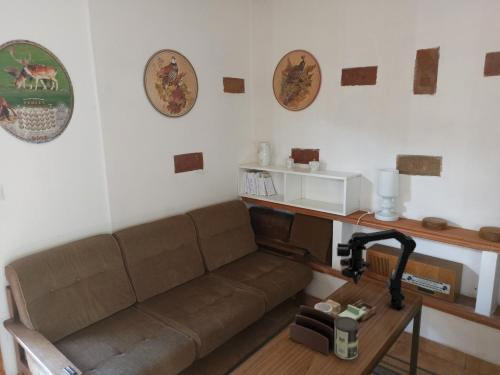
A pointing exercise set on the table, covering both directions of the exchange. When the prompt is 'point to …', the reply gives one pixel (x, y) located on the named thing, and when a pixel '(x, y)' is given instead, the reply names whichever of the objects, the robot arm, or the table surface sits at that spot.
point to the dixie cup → (324, 307)
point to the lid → (352, 312)
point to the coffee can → (346, 337)
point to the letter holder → (314, 329)
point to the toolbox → (365, 309)
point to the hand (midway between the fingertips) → (355, 283)
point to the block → (334, 307)
